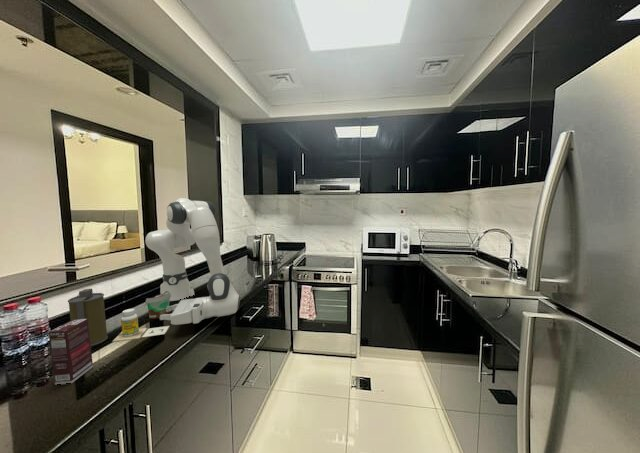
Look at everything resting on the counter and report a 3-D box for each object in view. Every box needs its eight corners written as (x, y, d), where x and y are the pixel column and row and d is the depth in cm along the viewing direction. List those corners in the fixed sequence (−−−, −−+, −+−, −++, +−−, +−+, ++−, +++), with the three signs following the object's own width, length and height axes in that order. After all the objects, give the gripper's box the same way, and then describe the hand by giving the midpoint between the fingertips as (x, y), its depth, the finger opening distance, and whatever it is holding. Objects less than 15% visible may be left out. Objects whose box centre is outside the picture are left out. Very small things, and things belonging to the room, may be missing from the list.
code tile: (148, 328, 114) (148, 328, 114) (169, 325, 116) (169, 325, 116) (141, 337, 106) (141, 337, 106) (164, 334, 108) (164, 333, 108)
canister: (80, 338, 107) (75, 288, 106) (112, 333, 111) (107, 284, 109) (65, 351, 97) (60, 296, 96) (101, 345, 101) (96, 292, 99)
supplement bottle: (138, 329, 112) (136, 306, 112) (139, 334, 108) (137, 310, 107) (122, 333, 109) (120, 310, 108) (122, 338, 105) (120, 314, 104)
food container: (158, 321, 122) (157, 299, 121) (147, 320, 123) (145, 298, 123) (178, 310, 134) (176, 290, 133) (167, 310, 135) (165, 290, 135)
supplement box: (77, 368, 86) (72, 319, 85) (93, 367, 86) (89, 318, 85) (53, 386, 77) (47, 331, 76) (71, 384, 78) (65, 330, 77)
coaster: (122, 332, 112) (122, 331, 111) (147, 328, 114) (147, 327, 114) (112, 342, 103) (112, 341, 103) (139, 338, 105) (139, 337, 105)
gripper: (202, 293, 125) (169, 297, 121) (195, 309, 105) (155, 314, 102) (203, 307, 125) (170, 311, 122) (197, 325, 106) (156, 330, 102)
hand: (163, 313), depth 111 cm, fingers open, 8 cm apart
